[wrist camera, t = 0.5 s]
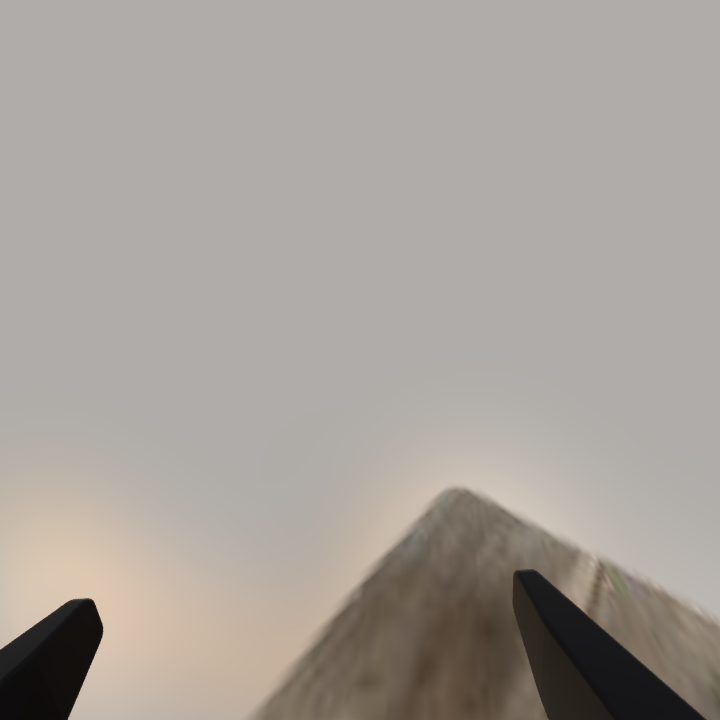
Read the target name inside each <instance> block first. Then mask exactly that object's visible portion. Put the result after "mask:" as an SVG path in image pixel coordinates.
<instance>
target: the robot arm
mask: <svg viewBox="0 0 720 720" xmlns="http://www.w3.org/2000/svg"><path fill="white" fill-rule="evenodd" d="M513 607H514V612H515V616H516V619H517V623H518V626H519V629H520V633H521V636H522V639H523V643H524V646H525V649H526V653H527V656H528V659H529V663H530V666H531V669H532V673H533V676H534V679H535V683H536V686H537V689H538V692H539V695H540V698H541V701H542V704H543V706H544V709H545V712H546V714H547V717H548V719H549V720H706V719H705V718H704V717H703V716H702V715H701V714H700V713H698V712H697V711H696V710H695V709H694V708H693V707H692V706H690V705H689V704H688V703H687V702H686V701H685V700H684V699H682V698H681V697H680V696H679V695H678V694H677V693H676V692H674V691H673V690H672V689H671V688H670V687H669V686H668V685H666V684H665V683H664V682H663V681H662V680H661V679H660V678H658V677H657V676H656V675H655V674H654V673H653V672H652V671H650V670H649V669H648V668H647V667H646V666H645V665H644V664H642V663H641V662H640V661H639V660H638V659H637V658H636V657H634V656H633V655H632V654H631V653H630V652H629V651H628V650H626V649H625V648H624V647H623V646H622V645H621V644H620V643H618V642H617V641H616V640H615V639H614V638H613V637H612V636H610V635H609V634H608V633H607V632H606V631H605V630H604V629H602V628H601V627H600V626H599V625H598V624H597V623H596V622H594V621H593V620H592V619H591V618H590V617H589V616H588V615H586V614H585V613H584V612H583V611H582V610H581V609H580V608H578V607H577V606H576V605H575V604H574V603H573V602H572V601H570V600H569V599H568V598H567V597H566V596H565V595H564V594H562V593H561V592H560V591H559V590H558V589H557V588H556V587H554V586H553V585H552V584H551V583H550V582H549V581H548V580H546V579H545V578H544V577H543V576H542V575H541V574H540V573H538V572H537V571H536V570H533V569H526V570H516V571H515V572H514V575H513ZM102 635H103V625H102V622H101V619H100V616H99V614H98V611H97V608H96V605H95V603H94V601H93V600H92V599H89V598H86V599H73V600H70V601H68V602H67V603H65V604H64V605H63V606H61V607H60V608H58V609H57V610H56V611H54V612H53V613H51V614H50V615H48V616H47V617H46V618H44V619H43V620H42V621H40V622H39V623H37V624H36V625H34V626H33V627H32V628H30V629H29V630H27V631H26V632H25V633H23V634H22V635H20V636H19V637H18V638H16V639H15V640H13V641H12V642H11V643H9V644H8V645H6V646H5V647H4V648H2V649H1V650H0V720H68V717H69V715H70V713H71V711H72V708H73V706H74V704H75V701H76V699H77V697H78V694H79V692H80V689H81V687H82V685H83V682H84V680H85V677H86V675H87V673H88V670H89V668H90V665H91V663H92V661H93V658H94V656H95V653H96V651H97V649H98V647H99V644H100V642H101V639H102Z"/></svg>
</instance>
